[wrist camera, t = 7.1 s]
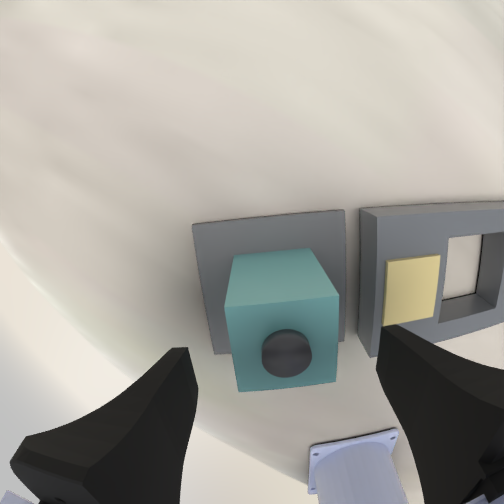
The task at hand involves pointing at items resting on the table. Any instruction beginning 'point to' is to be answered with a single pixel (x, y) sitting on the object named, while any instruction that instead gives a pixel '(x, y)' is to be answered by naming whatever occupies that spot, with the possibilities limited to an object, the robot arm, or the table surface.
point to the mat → (266, 240)
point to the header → (427, 270)
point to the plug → (281, 320)
